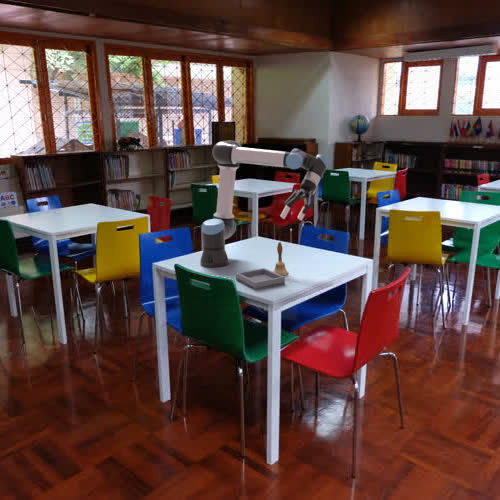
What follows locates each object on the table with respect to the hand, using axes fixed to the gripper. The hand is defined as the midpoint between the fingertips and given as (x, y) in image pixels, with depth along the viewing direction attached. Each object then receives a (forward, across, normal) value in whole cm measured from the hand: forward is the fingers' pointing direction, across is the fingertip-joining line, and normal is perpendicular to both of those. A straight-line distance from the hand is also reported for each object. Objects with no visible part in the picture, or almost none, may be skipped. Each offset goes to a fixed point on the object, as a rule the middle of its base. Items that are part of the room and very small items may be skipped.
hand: (290, 218), depth 246 cm
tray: (+36, -4, 0) cm, 36 cm away
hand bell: (+25, +2, -12) cm, 28 cm away
